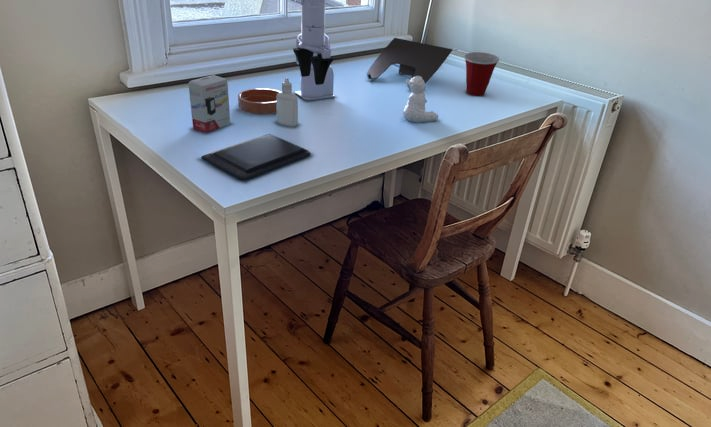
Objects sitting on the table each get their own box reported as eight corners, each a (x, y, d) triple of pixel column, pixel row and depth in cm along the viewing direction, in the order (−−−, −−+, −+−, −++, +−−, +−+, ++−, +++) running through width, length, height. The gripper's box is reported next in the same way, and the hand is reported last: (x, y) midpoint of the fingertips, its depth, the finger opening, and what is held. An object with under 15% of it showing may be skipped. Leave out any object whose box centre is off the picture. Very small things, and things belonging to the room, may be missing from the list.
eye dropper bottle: (284, 128, 129) (283, 82, 123) (275, 121, 133) (274, 75, 127) (299, 126, 131) (299, 80, 125) (290, 119, 135) (289, 74, 129)
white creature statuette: (439, 120, 141) (445, 77, 135) (419, 127, 136) (425, 83, 130) (412, 111, 147) (417, 69, 141) (393, 117, 141) (397, 74, 135)
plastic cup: (455, 95, 162) (461, 57, 156) (462, 86, 171) (468, 50, 165) (489, 101, 159) (496, 62, 153) (494, 92, 168) (501, 55, 162)
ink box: (206, 133, 124) (201, 85, 118) (192, 128, 126) (186, 81, 120) (231, 124, 130) (228, 78, 124) (217, 119, 132) (213, 74, 126)
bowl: (273, 98, 150) (273, 86, 148) (293, 111, 141) (293, 99, 139) (231, 103, 143) (231, 91, 142) (249, 118, 134) (248, 105, 133)
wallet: (241, 174, 102) (198, 150, 111) (242, 182, 103) (199, 158, 112) (314, 148, 115) (271, 129, 124) (314, 156, 116) (271, 136, 125)
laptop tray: (364, 93, 177) (358, 72, 170) (397, 54, 187) (393, 32, 180) (422, 109, 166) (419, 87, 159) (454, 66, 176) (452, 43, 169)
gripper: (285, 20, 128) (286, 74, 135) (312, 32, 118) (312, 89, 125) (310, 19, 132) (309, 71, 138) (339, 30, 121) (336, 86, 128)
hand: (312, 80), depth 132 cm, fingers open, 7 cm apart
